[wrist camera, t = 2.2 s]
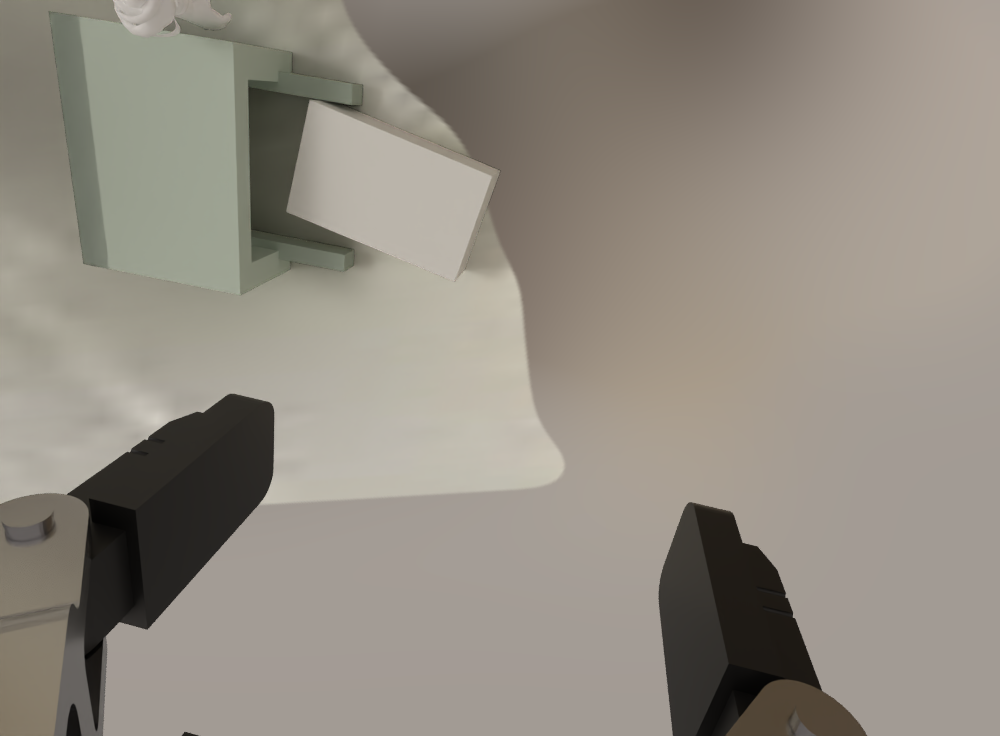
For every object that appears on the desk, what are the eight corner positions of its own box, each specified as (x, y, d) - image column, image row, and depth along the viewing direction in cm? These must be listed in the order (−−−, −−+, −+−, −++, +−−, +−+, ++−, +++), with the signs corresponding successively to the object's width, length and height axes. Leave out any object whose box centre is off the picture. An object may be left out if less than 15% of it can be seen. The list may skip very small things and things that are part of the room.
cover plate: (333, 100, 33) (309, 100, 31) (501, 170, 33) (492, 176, 31) (310, 203, 36) (286, 211, 33) (466, 268, 36) (454, 282, 33)
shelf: (135, 26, 33) (48, 11, 28) (364, 64, 32) (317, 56, 27) (154, 242, 38) (83, 263, 33) (352, 281, 37) (312, 309, 32)
